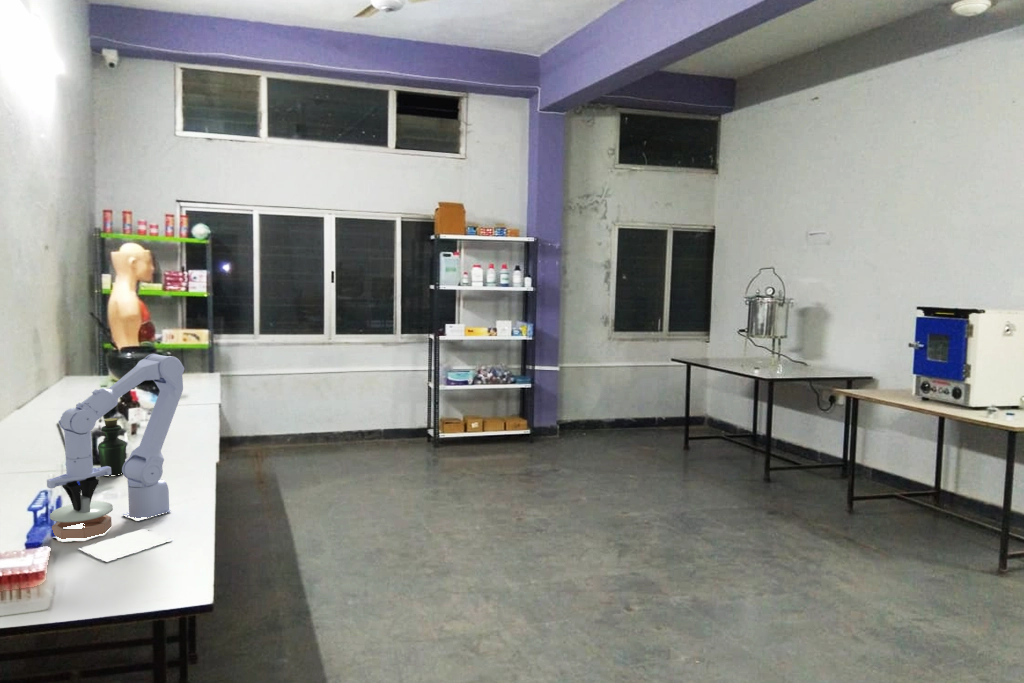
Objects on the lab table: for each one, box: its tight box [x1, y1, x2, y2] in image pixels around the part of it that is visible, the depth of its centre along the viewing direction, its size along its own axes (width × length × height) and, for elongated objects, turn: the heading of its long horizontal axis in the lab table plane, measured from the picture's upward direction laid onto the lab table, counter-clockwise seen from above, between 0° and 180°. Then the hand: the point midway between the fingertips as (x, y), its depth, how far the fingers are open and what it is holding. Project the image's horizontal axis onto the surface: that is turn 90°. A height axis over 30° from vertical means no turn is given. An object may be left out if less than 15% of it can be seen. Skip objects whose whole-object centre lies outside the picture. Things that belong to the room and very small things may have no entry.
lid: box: [49, 494, 114, 523], centre depth 180 cm, size 14×14×4 cm
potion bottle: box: [97, 417, 127, 476], centre depth 229 cm, size 8×8×18 cm
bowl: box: [51, 514, 113, 539], centre depth 180 cm, size 12×12×3 cm
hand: (81, 508), depth 180 cm, fingers closed on lid, 2 cm apart
